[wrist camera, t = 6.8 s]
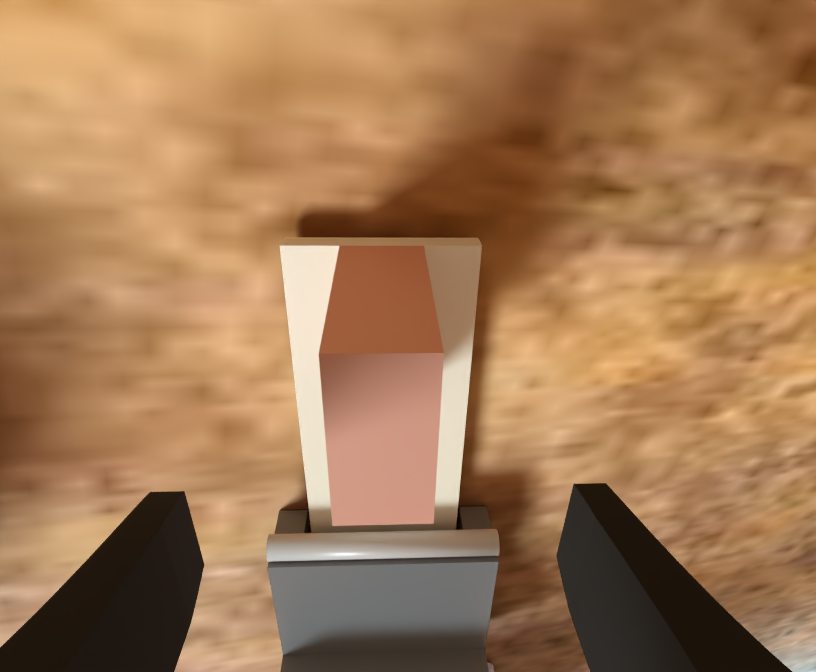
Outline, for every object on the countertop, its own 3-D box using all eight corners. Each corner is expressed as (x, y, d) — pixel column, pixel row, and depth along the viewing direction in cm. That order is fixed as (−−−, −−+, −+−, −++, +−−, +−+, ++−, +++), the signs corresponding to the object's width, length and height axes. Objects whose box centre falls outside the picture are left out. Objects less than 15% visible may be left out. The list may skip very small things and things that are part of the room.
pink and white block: (449, 561, 24) (470, 728, 19) (318, 564, 24) (297, 735, 18) (478, 237, 17) (530, 352, 11) (283, 237, 16) (229, 354, 10)
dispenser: (470, 626, 28) (491, 763, 23) (297, 632, 27) (278, 772, 22) (488, 491, 23) (519, 627, 18) (277, 495, 22) (246, 636, 17)
